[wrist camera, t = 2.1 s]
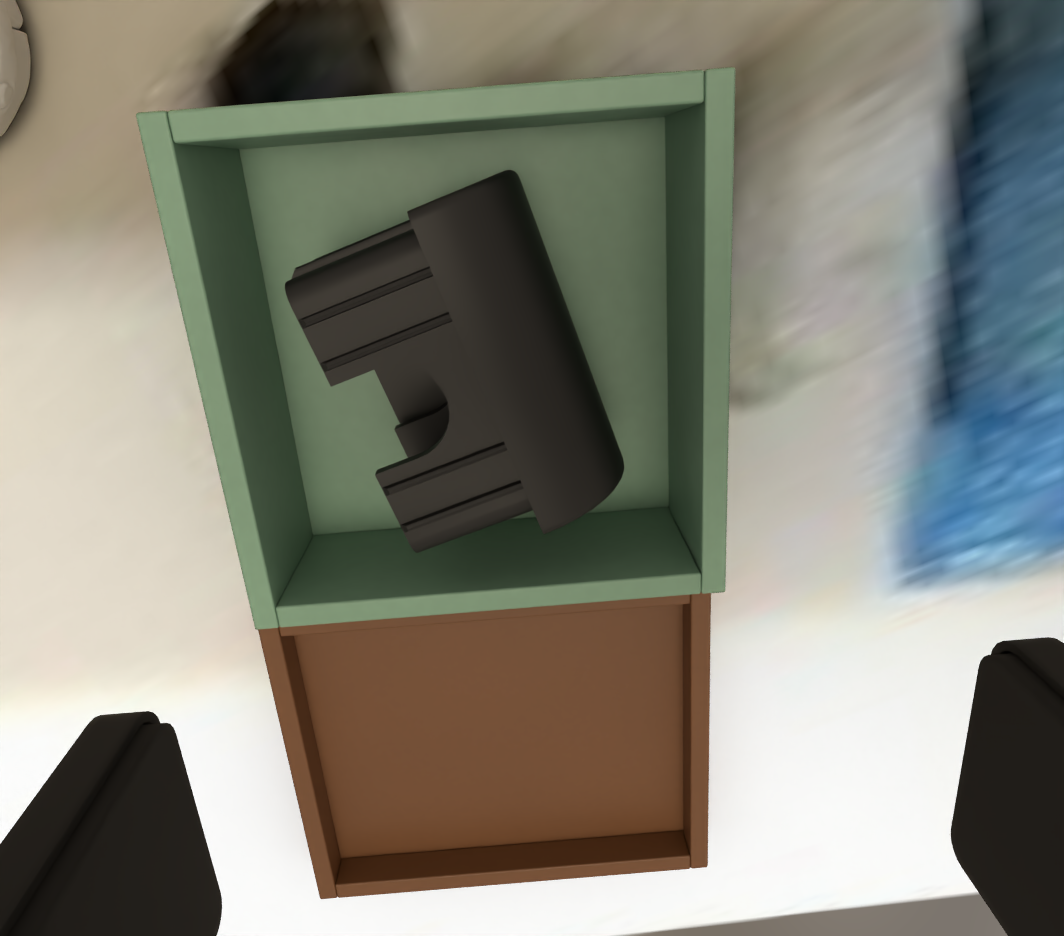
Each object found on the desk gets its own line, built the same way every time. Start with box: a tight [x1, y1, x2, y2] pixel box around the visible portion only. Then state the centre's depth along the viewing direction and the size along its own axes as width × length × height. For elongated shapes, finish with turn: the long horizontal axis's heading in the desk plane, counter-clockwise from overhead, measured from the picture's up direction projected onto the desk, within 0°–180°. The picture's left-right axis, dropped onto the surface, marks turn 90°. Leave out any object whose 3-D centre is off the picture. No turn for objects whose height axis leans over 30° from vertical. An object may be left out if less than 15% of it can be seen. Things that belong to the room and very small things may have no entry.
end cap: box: [285, 170, 624, 553], centre depth 25 cm, size 10×7×7 cm
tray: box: [258, 592, 711, 899], centre depth 33 cm, size 18×15×2 cm
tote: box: [136, 67, 735, 630], centre depth 26 cm, size 16×16×6 cm
